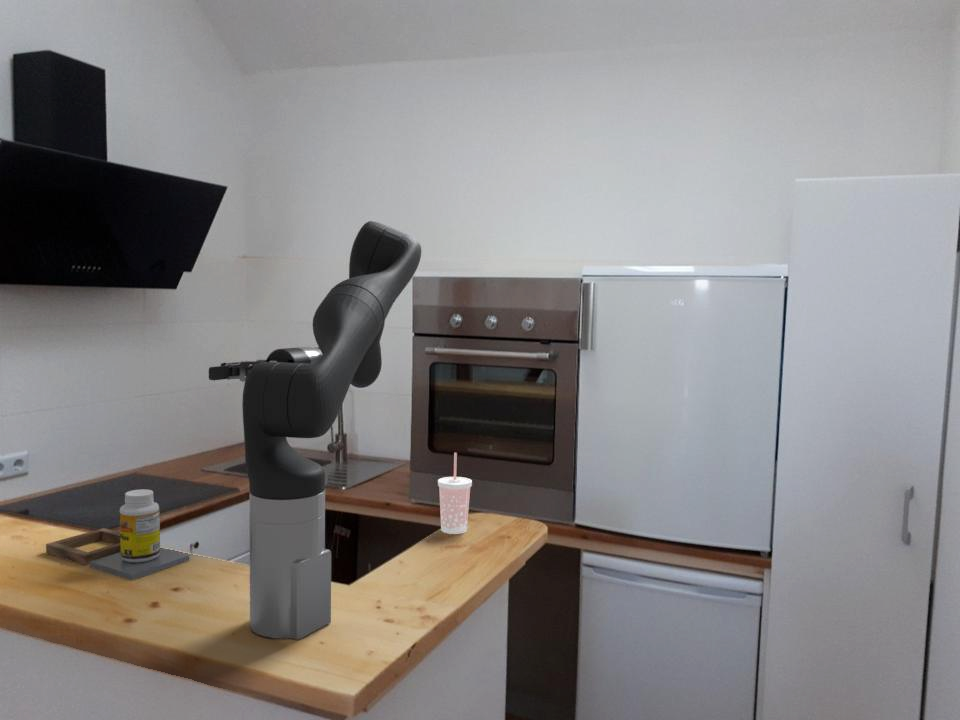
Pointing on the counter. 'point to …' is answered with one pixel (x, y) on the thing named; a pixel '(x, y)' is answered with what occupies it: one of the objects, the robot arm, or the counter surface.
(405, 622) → the counter surface
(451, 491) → the beverage cup
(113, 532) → the pocket frame
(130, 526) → the supplement bottle
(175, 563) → the slate coaster
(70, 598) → the counter surface
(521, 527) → the counter surface
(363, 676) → the counter surface
